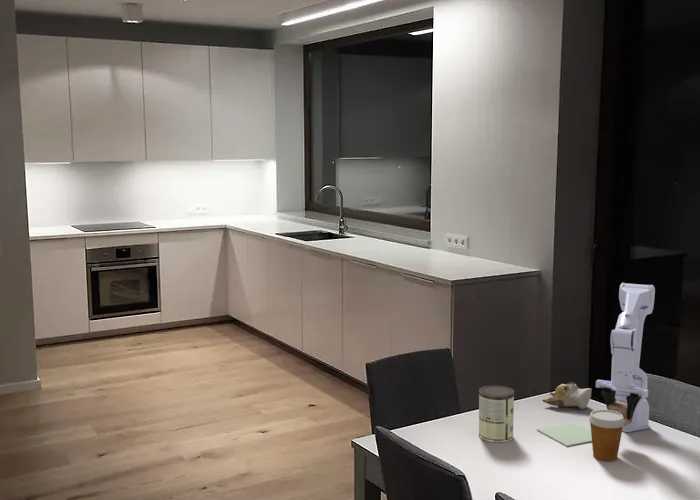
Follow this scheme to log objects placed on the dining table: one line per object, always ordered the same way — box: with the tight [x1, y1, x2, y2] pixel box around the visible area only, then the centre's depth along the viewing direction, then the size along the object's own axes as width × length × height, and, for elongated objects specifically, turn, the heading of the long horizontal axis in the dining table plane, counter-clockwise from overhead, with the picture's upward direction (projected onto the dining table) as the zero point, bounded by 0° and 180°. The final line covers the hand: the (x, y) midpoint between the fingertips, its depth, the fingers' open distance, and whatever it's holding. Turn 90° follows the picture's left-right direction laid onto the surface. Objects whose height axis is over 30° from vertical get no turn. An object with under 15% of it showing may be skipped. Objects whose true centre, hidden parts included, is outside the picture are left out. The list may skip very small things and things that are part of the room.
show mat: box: [536, 421, 592, 447], centre depth 227 cm, size 14×14×1 cm
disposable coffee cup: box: [588, 409, 625, 462], centre depth 210 cm, size 10×10×12 cm
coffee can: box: [478, 384, 515, 444], centre depth 225 cm, size 10×10×14 cm
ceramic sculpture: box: [541, 381, 593, 410], centre depth 251 cm, size 11×9×15 cm
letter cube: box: [608, 400, 632, 426], centre depth 218 cm, size 5×5×5 cm
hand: (620, 416), depth 218 cm, fingers closed on letter cube, 5 cm apart
